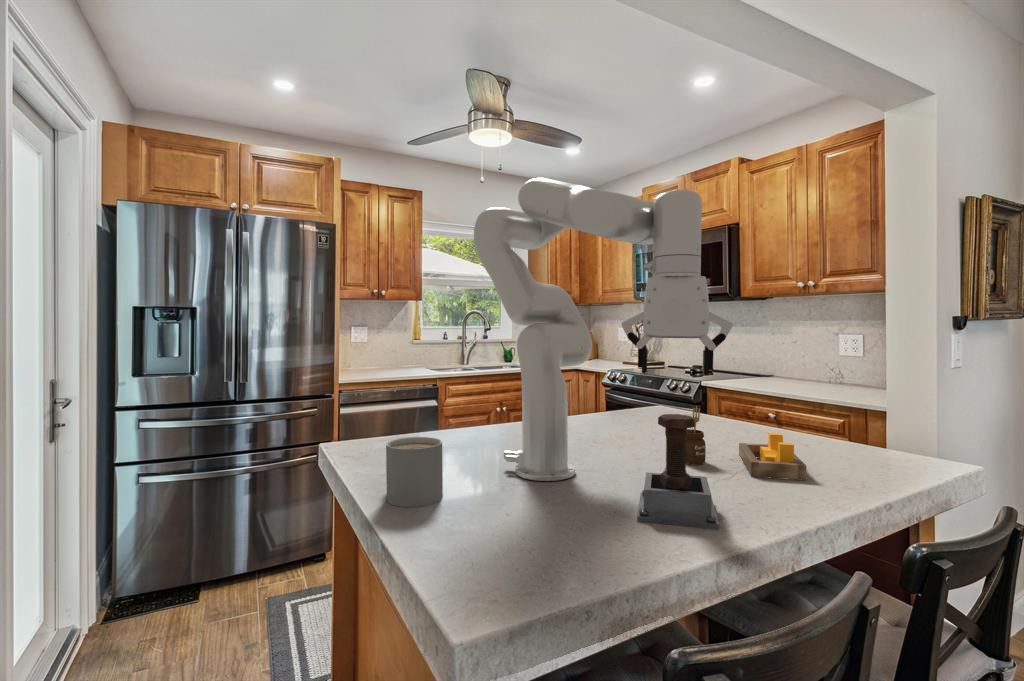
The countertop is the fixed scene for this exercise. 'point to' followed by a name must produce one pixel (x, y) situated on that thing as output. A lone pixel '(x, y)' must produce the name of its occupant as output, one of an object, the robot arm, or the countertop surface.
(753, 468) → the parts corral
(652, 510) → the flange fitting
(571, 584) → the countertop surface
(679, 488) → the bolt
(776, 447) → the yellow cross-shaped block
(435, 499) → the coffee mug
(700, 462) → the utensil holder
